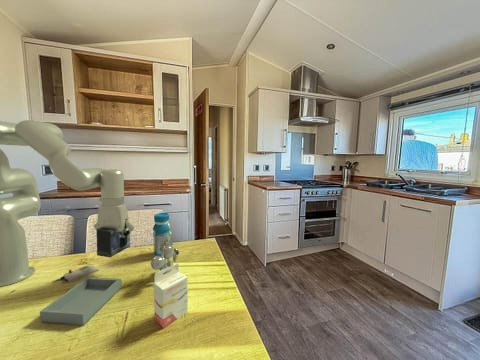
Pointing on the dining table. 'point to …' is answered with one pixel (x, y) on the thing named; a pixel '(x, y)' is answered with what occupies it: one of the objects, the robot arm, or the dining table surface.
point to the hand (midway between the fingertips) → (114, 245)
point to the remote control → (78, 273)
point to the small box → (109, 242)
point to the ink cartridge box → (170, 295)
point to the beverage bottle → (161, 231)
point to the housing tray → (81, 301)
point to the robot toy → (164, 256)
